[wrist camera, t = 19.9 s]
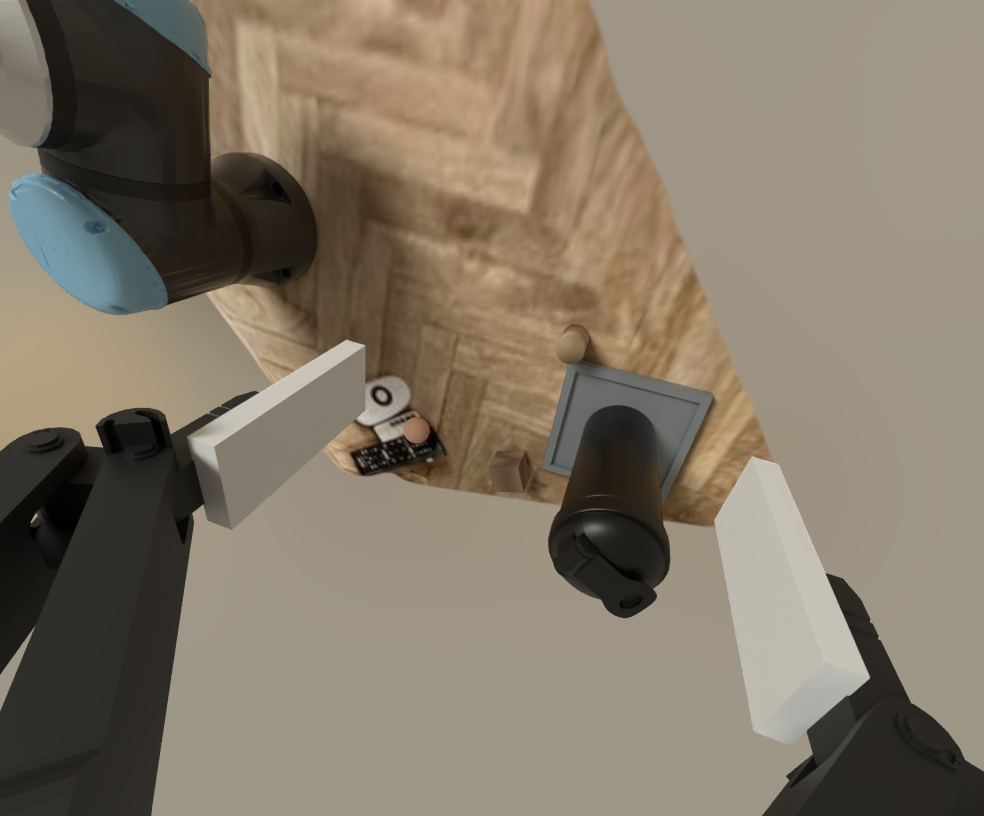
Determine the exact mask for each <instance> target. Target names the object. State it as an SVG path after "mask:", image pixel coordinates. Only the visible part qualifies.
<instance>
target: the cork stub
mask: <svg viewBox="0 0 984 816" xmlns="http://www.w3.org/2000/svg"><path fill="white" fill-rule="evenodd" d="M588 341H589V334H588V331H587V330H586V329H585V328H584V327H583V326H580V325H571V326H569V327H567V328H566V329H565V331H564V333H563V335H562V337H561V339H560V341H559V343H558V345H557V348H556V353H557V356H558V358H559V359H560V360H561V361H562V362H564V363H566V364H575V363H578V362H579V361H580V360H581V359H582V358H583V356H584V353H585V350H586V347H587V344H588Z"/></svg>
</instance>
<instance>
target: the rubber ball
mask: <svg viewBox="0 0 984 816" xmlns="http://www.w3.org/2000/svg"><path fill="white" fill-rule="evenodd" d="M429 433H430V427H429V424H428V423H427V422H426V421H425V420H424V419H422V418H419V417H415V418H411V419H410V420H408V421H407V422H406V424H405V426H404V435H405V437H406V438H407V439H408V440H409V441H410V442H413V443H421V442H423V441H425V440H426V439H427V437H428V436H429Z"/></svg>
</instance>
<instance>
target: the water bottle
mask: <svg viewBox="0 0 984 816" xmlns="http://www.w3.org/2000/svg"><path fill="white" fill-rule="evenodd" d="M659 481H660V477H659V471H658V460H657V449H656V439H655V430H654V427H653V425H652V423H651V421H650V420H649V419H648V418H647V417H646V416H645V415H644V414H643V413H642V412H640V411H638V410H636V409H634V408H631V407H628V406H622V405H613V406H607V407H604V408H601V409H599V410H598V411H596V412H595V413H593V414H592V415H591V416H590V417H589V419H588V420H587V422H586V424H585V427H584V430H583V434H582V437H581V440H580V444H579V447H578V451H577V454H576V458H575V461H574V465H573V468H572V471H571V475H570V478H569V482H568V485H567V489H566V492H565V496H564V499H563V502H562V506H561V509H560V511H559V512H558V513H557V515H556V516H555V518H554V520H553V523H552V526H551V530H550V534H549V538H548V547H549V553H550V556H551V559H552V561H553V564H554V567H555V569H556V571H557V572H558V573H559V574H560V575H561V576H563V577H564V578H565V580H566V581H567V582H568V583H570V584H571V585H572V586H573V587H574V588H576V589H577V590H579V591H581V592H582V593H584V594H586V595H589V596H591V597H594V598H597V599H601V600H602V602H603V604H604V606H605V607H606V609H607V610H608V611H609V612H610V613H612V614H613V615H615V616H618V617H621V618H629V617H632V616H634V615H636V614H637V613H639V612H641V611H642V610H644V609H645V608H647V607H648V606H649V605H651V604H652V603H653V602H654V601H655V600H656V598H657V595H656V593H655V591H654V590H653V589H654V588H655V587H656V586H658V585H659V584H660V583H661V582H662V581H663V580H664V578H665V577H666V575H667V573H668V571H669V565H670V546H669V539H668V535H667V533H666V530H665V528H664V525H663V514H662V501H661V500H662V498H661V493H660V492H661V490H660V489H661V487H660V482H659Z"/></svg>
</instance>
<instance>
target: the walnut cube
mask: <svg viewBox="0 0 984 816" xmlns="http://www.w3.org/2000/svg"><path fill="white" fill-rule="evenodd" d="M489 469H490V473H491V477H492V482H493V486H494V490H495V492H524V489H525V486H526V484H527V481H528V478H529V476H530V474H529V468H528V463H527V458H526V453H525V451H497V453H496V455H495V457H494V459H493V461H492V463H491V465H490V467H489Z"/></svg>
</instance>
